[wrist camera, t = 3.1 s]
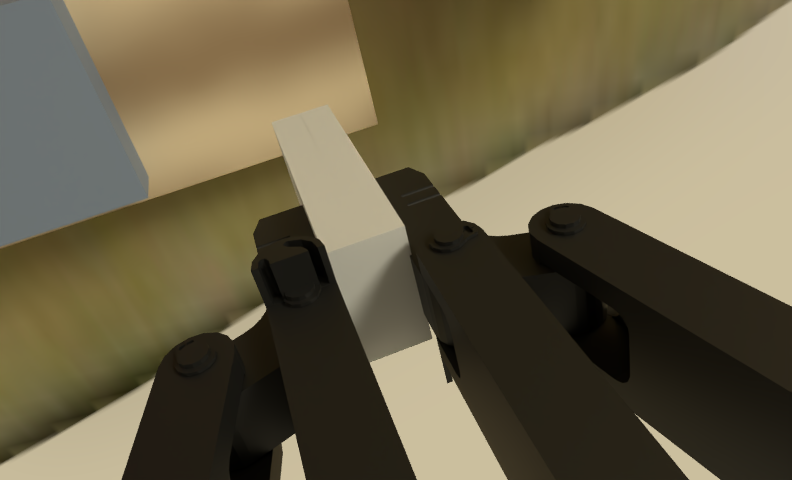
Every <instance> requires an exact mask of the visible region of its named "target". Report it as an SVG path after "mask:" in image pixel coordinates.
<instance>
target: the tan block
mask: <svg viewBox="0 0 792 480" xmlns="http://www.w3.org/2000/svg"><path fill="white" fill-rule="evenodd" d="M64 2H65V5H66V7H67V9H68V11H69V13H70V15H71V17H72V19H73V21H74V23H75V25H76V27H77V29H78V31H79V33H80V36H81V38H82V40H83V42H84V44H85V46H86V48H87V50H88V52H89V54H90V56H91V58H92V60H93V62H94V64H95V67H96V69H97V71H98V73H99V75H100V77H101V79H102V81H103V83H104V85H105V87H106V89H107V91H108V93H109V95H110V98H111V100H112V102H113V104H114V106H115V108H116V110H117V112H118V114H119V116H120V118H121V120H122V122H123V124H124V126H125V129H126V131H127V133H128V135H129V137H130V139H131V141H132V143H133V145H134V147H135V149H136V151H137V153H138V155H139V157H140V160H141V162H142V164H143V166H144V168H145V170H146V172H147V174H148V176H149V189H148V198H147V199H144V200H141V201H138V202H135V203H131V204H128V205H125V206H122V207H119V208H116V209H113V210H110V211H107V212H104V213H101V214H98V215H95V216H92V217H89V218H86V219H83V220H80V221H77V222H74V223H71V224H68V225H65V226H62V227H59V228H56V229H53V230H50V231H47V232H44V233H40V234H37V235H34V236H31V237H28V238H25V239H22V240H19V241H16V242H13V243H10V244H7V245H4V246H1V247H0V249H1V248H4V247H7V246H10V245H13V244H16V243H19V242H22V241H25V240H28V239H31V238H35V237H38V236H41V235H44V234H47V233H50V232H53V231H56V230H59V229H62V228H65V227H68V226H71V225H74V224H77V223H80V222H83V221H86V220H89V219H92V218H95V217H98V216H101V215H104V214H107V213H110V212H113V211H116V210H119V209H122V208H125V207H128V206H131V205H134V204H138V203H141V202H144V201H147V200H150V199H153V198H156V197H159V196H162V195H165V194H168V193H171V192H174V191H177V190H180V189H183V188H186V187H189V186H192V185H195V184H198V183H201V182H204V181H207V180H210V179H213V178H216V177H219V176H222V175H225V174H228V173H231V172H234V171H237V170H240V169H244V168H247V167H250V166H253V165H256V164H259V163H262V162H265V161H268V160H271V159H274V158H277V157H280V156H283V155H282V152H281V149H280V146H279V143H278V140H277V137H276V134H275V131H274V128H273V126H272V123H271V122H274V121H277V120H280V119H283V118H286V117H290V116H293V115H296V114H299V113H302V112H305V111H308V110H311V109H314V108H318V107H321V106H324V105H327V104H328V106H329V107H330V109H331V111H332V112H333V114H334V115H335V117H336V118H337V120H338V122H339V123H340V125H341V126H342V128H343V129H344V131H345V133H346V134H350V133H353V132H356V131H359V130H362V129H365V128H368V127H371V126H374V125H377V124H378V121H377V117H376V113H375V109H374V105H373V101H372V97H371V93H370V89H369V85H368V80H367V76H366V72H365V68H364V64H363V60H362V56H361V52H360V48H359V44H358V40H357V35H356V31H355V27H354V23H353V19H352V15H351V11H350V7H349V3H348V0H64Z"/></svg>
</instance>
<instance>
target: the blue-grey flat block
mask: <svg viewBox="0 0 792 480" xmlns="http://www.w3.org/2000/svg"><path fill="white" fill-rule="evenodd" d="M148 189H149V176H148V174H147V172H146V170H145V168H144V166H143V164H142V162H141V160H140V157H139V155H138V153H137V151H136V149H135V147H134V145H133V143H132V141H131V139H130V137H129V135H128V133H127V131H126V129H125V126H124V124H123V122H122V120H121V118H120V116H119V114H118V112H117V110H116V108H115V106H114V104H113V102H112V100H111V98H110V95H109V93H108V91H107V89H106V87H105V85H104V83H103V81H102V79H101V77H100V75H99V73H98V71H97V69H96V67H95V64H94V62H93V60H92V58H91V56H90V54H89V52H88V50H87V48H86V46H85V44H84V42H83V40H82V38H81V36H80V33H79V31H78V29H77V27H76V25H75V23H74V21H73V19H72V17H71V15H70V13H69V11H68V9H67V7H66V5H65V2H64V0H0V247H1V246H4V245H7V244H10V243H13V242H16V241H19V240H22V239H25V238H28V237H31V236H34V235H37V234H40V233H44V232H47V231H50V230H53V229H56V228H59V227H62V226H65V225H68V224H71V223H74V222H77V221H80V220H83V219H86V218H89V217H92V216H95V215H98V214H101V213H104V212H107V211H110V210H113V209H116V208H119V207H122V206H125V205H128V204H131V203H135V202H138V201H141V200H144V199H147V198H148Z"/></svg>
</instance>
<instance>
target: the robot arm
mask: <svg viewBox="0 0 792 480" xmlns="http://www.w3.org/2000/svg"><path fill="white" fill-rule="evenodd" d="M271 123H272V126H273V128H274V131H275V134H276V137H277V140H278V143H279V146H280V149H281V152H282V155H283V157H284V160H285V163H286V166H287V169H288V172H289V175H290V178H291V181H292V184H293V187H294V189H295V192H296V195H297V198H298V201H299V204H300V206H298V207H295V208H292V209H289V210H286V211H283V212H281V213H278V214H275V215H272V216H269V217H266V218H263V219H260V220H259V222H258V224H257V227H256V229H255V231H254V234H253V235H254V239H255V244H256V248H257V252H258V255H257V256H256V257H255V259H254V260H253V262H252V266H251V273H252V275H253V277H254V280H255V282H256V284H257V287H258V289H259V292H260V294H261V296H262V299H263V301H264V303H265V306H266V312H265V313H264V315H263V316H262V318H261V320H259V321H258V322H257V323H256V324H255V325H254V326H253V327H252V328H251V329H249V330H248V331H247V332H245V333H244V334H242V335H240V336H239V337H237V338H236V339H234V340H231V339H230V338H229V337H228V336H227V335H224V334H221V333H217V332H215V333H203V334H200V335H197V336H194V337H191V338H188V339H187V340H185V341H183V342H182V343H180V344H178V345H177V346H175V347H174V348H173V349H172V350H171V351H170V352H169V353H168V354H167V355H166V356H165V357H164V358H163V360H162V362H161V364H160V366H159V367H158V370H157V373H156V376H155V379H154V382H153V385H152V388H151V391H150V395H149V398H148V401H147V404H146V407H145V410H144V413H143V416H142V419H141V422H140V425H139V428H138V431H137V434H136V437H135V440H134V443H133V447H132V450H131V453H130V456H129V459H128V462H127V465H126V468H125V471H124V474H123V477H122V480H280V476H281V466H282V456H283V451H282V444H281V443H282V442H283V441H285V440H286V439H288V438H289V437H290V436H292V435H293V434H296V439H297V443H298V447H299V451H300V456H301V460H302V464H303V469H304V473H305V477H306V480H417V479H416V476H415V474H414V472H413V470H412V467H411V464H410V462H409V459H408V457H407V454H406V452H405V449H404V447H403V444H402V442H401V439H400V437H399V435H398V432H397V430H396V427H395V425H394V422H393V420H392V417H391V415H390V412H389V410H388V407H387V405H386V403H385V400H384V397H383V395H382V392H381V390H380V388H379V385H378V383H377V380H376V378H375V375H374V373H373V370H372V368H371V366H370V363H369V362H372V361H375V360H377V359H380V358H382V357H385V356H388V355H390V354H393V353H396V352H398V351H400V350H404V349H406V348H409V347H412V346H414V345H417V344H419V343H422V342H424V341H427V340H430V339H432V335H431V331H430V327H429V324H430V325H431V327H432V329H433V331H434V333H435V335H436V337H437V341H438V346H439V350H440V354H441V358H442V362H443V367H444V370H445V375H446V379H447V383H449V382H452V381H453V380H452V377H453V379H454V381H455V383H456V385H457V386H458V388H459V390H460V392H461V394H462V396H463V398H464V399H465V401H466V403H467V405H468V407H469V409H470V411H471V412H472V414H473V416H474V418H475V420H476V422H477V423H478V425H479V427H480V429H481V431H482V432H483V435H484V436H485V438H486V440H487V442H488V444H489V446H490V448H491V449H492V451H493V453H494V455H495V457H496V459H497V461H498V462H499V464H500V466H501V468H502V470H503V472H504V474H505V475H506V477H507V479H508V480H689V479H688V478H687V477H686V476H685V474H684V473H683V472H682V471H681V469H680V468H679V467H678V466H677V465H676V463H675V462H674V461H673V460H672V459H671V457H670V456H669V455H668V454H667V453H666V451H665V450H664V449H663V448H662V447H661V445H660V444H659V443H658V442H657V440H656V439H655V438H654V437H653V436H652V434H651V433H650V432H649V431H648V429H647V428H646V427H645V426H644V425H643V423H642V422H641V421H640V420H639V419H638V417H637V416H639V417H640V418H641V419H643V420H644V421H645V422H647V423H648V424H649V425H650V426H652V427H653V428H654V429H656V430H657V431H658V432H659V433H661V434H662V435H663V436H665V437H666V438H667V439H669V440H670V441H671V442H672V443H674V444H675V445H676V446H678V447H679V448H680V449H682V450H683V451H684V452H685V453H687V454H688V455H689V456H691V457H692V458H693V459H695V460H696V461H697V462H698V463H700V464H701V465H702V466H704V467H705V468H706V469H707V470H709V471H710V472H711V473H713V474H714V475H715V476H717V477H718V478H719V479H720V480H792V306H790V305H787V304H785V303H783V302H781V301H779V300H777V299H775V298H773V297H771V296H769V295H767V294H765V293H763V292H761V291H759V290H757V289H755V288H753V287H751V286H749V285H747V284H745V283H743V282H741V281H739V280H737V279H735V278H733V277H731V276H729V275H727V274H725V273H723V272H721V271H719V270H717V269H715V268H713V267H711V266H709V265H707V264H705V263H703V262H701V261H699V260H697V259H695V258H693V257H691V256H689V255H687V254H685V253H683V252H681V251H679V250H677V249H675V248H673V247H671V246H668V245H667V244H665V243H663V242H661V241H659V240H657V239H654V238H653V237H651V236H649V235H647V234H645V233H643V232H641V231H639V230H637V229H635V228H632V227H630V226H629V225H627V224H625V223H622V222H621V221H619V220H617V219H614V218H612V217H610V216H608V215H606V214H604V213H602V212H600V211H598V210H596V209H594V208H592V207H589V206H585V205H583V204H573V203H564V204H557V205H552V206H550V207H547V208H544V209H542V210H540V211H539V212H537V213H536V214H535V215H534V216H532V218H531V220H530V222H529V224H528V228H529V233H523V234H516V235H509V236H488V235H487V234H486V233H485V232H484V230H483V229H482V228H480V227H479V226H477V225H476V224H474V223H470V222H466V221H461V219H460V218H459V217H458V216H457V215H456V213H455V212H454V211H453V209H452V208H451V207H450V206H449V204H448V203H447V202H446V201H445V199H444V198H443V197H442V196H441V195H440V193H439V192H438V190H437V189H436V188H435V187H433V184H432V183H431V182H430V180H429V179H428V178H427V177H426V175H425V174H424V173H421V172H419V171H416V170H414V169H411V168H409V167H408V168H405V169H402V170H399V171H396V172H393V173H390V174H387V175H384V176H381V177H378V178H374V177H373V175H372V174H371V172H370V170H369V169H368V167H367V166H366V164H365V162H364V161H363V159H362V158H361V156H360V155H359V153H358V151H357V150H356V148H355V147H354V145H353V144H352V142H351V140H350V139H349V137H348V136H347V134H346V133H345V131H344V129H343V128H342V126H341V125H340V123H339V122H338V120H337V118H336V117H335V115H334V114H333V112H332V111H331V109H330V107H329V106H328V104H327V105H324V106H321V107H318V108H314V109H311V110H308V111H305V112H302V113H299V114H296V115H293V116H290V117H286V118H283V119H280V120H277V121H274V122H271ZM428 322H429V323H428ZM634 413H635V414H636V415H637V416H636V415H635V414H634Z"/></svg>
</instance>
